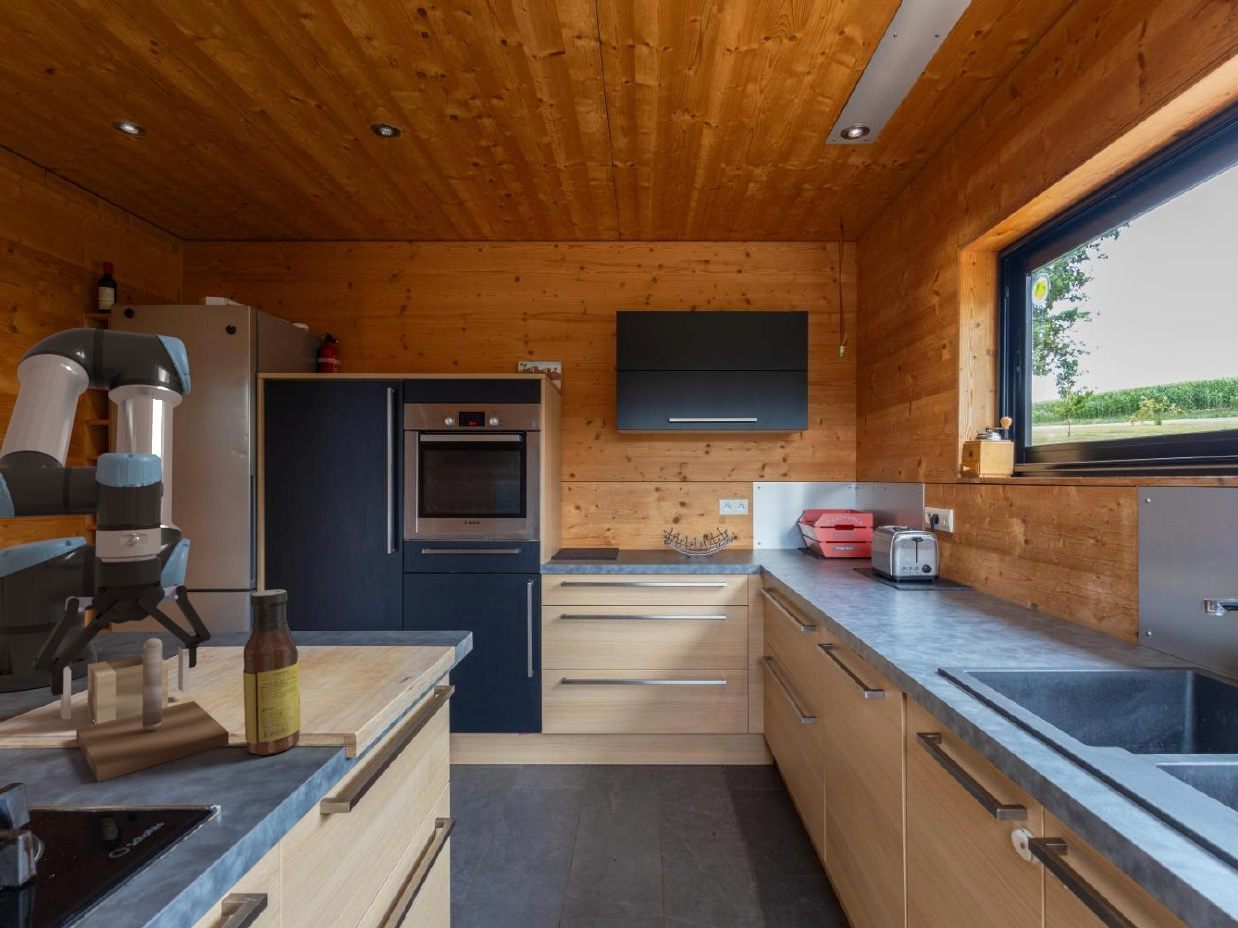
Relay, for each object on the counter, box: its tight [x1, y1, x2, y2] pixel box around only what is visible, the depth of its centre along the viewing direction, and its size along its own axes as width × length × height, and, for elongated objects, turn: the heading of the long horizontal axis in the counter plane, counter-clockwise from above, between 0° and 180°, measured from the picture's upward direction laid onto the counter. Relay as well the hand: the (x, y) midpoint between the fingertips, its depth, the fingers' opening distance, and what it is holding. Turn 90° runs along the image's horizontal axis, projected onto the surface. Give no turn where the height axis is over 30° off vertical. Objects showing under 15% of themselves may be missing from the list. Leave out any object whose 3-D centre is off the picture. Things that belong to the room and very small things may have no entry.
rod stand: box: [75, 637, 230, 783], centre depth 79 cm, size 16×13×14 cm
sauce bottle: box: [242, 588, 302, 756], centre depth 78 cm, size 7×6×20 cm
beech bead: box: [86, 653, 169, 724], centre depth 89 cm, size 8×8×7 cm
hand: (127, 702), depth 89 cm, fingers open, 13 cm apart
